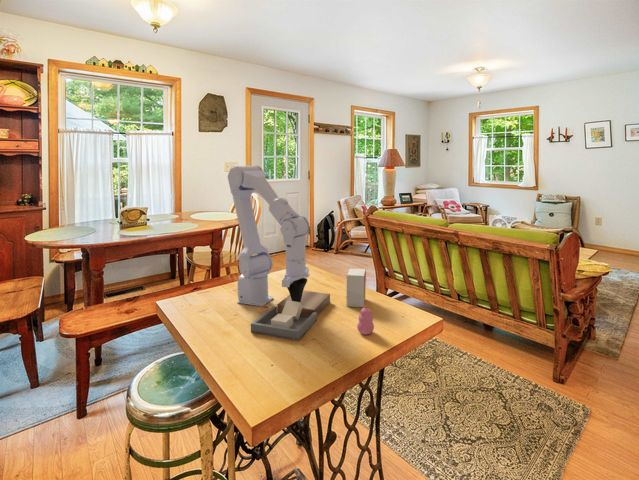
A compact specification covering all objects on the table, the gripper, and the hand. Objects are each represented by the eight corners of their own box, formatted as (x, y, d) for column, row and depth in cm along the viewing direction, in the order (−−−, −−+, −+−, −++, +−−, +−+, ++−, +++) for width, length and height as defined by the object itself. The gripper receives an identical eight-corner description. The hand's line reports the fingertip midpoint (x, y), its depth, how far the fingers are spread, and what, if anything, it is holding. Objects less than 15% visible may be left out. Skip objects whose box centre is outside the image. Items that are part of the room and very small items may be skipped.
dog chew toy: (358, 328, 101) (359, 303, 99) (375, 330, 99) (375, 305, 98) (355, 335, 97) (355, 309, 95) (372, 337, 95) (372, 311, 94)
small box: (363, 308, 115) (364, 276, 112) (346, 306, 116) (346, 275, 114) (365, 299, 122) (366, 268, 120) (349, 297, 123) (349, 267, 121)
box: (251, 332, 98) (250, 323, 98) (273, 313, 110) (273, 306, 110) (298, 340, 94) (298, 331, 93) (316, 320, 105) (316, 312, 105)
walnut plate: (277, 313, 110) (277, 304, 110) (296, 298, 123) (296, 289, 123) (314, 319, 106) (314, 309, 106) (330, 302, 119) (330, 294, 118)
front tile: (278, 313, 103) (279, 321, 104) (270, 319, 99) (271, 328, 100) (293, 315, 102) (293, 324, 102) (285, 322, 97) (285, 330, 98)
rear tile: (284, 317, 106) (281, 313, 104) (289, 304, 109) (286, 300, 107) (298, 320, 105) (295, 316, 103) (303, 306, 107) (300, 302, 105)
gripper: (298, 266, 97) (298, 314, 100) (317, 254, 111) (317, 296, 114) (274, 264, 100) (275, 310, 103) (296, 252, 113) (297, 293, 116)
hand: (296, 302), depth 108 cm, fingers closed
